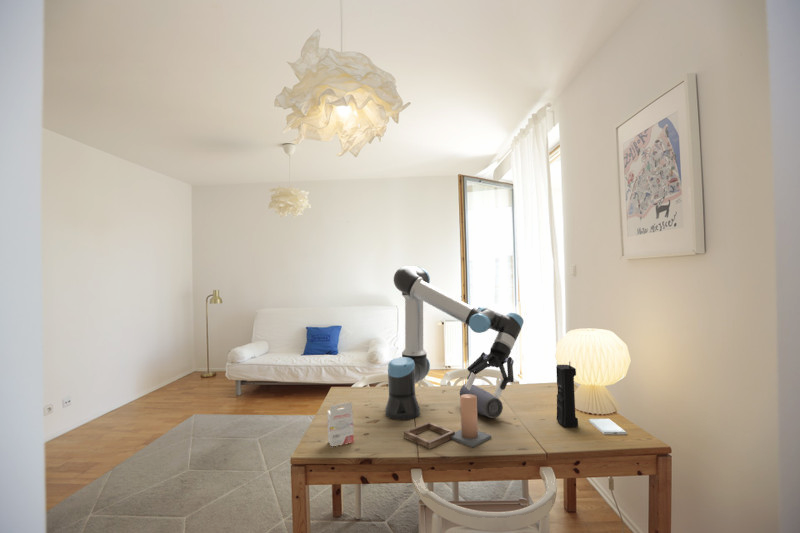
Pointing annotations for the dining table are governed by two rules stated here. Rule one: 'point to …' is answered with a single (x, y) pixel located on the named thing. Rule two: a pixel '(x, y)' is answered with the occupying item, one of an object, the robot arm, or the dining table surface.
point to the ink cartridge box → (340, 424)
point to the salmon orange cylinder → (469, 416)
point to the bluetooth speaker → (484, 401)
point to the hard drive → (607, 426)
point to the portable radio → (566, 396)
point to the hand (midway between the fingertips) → (481, 392)
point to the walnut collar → (429, 444)
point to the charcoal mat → (473, 441)
